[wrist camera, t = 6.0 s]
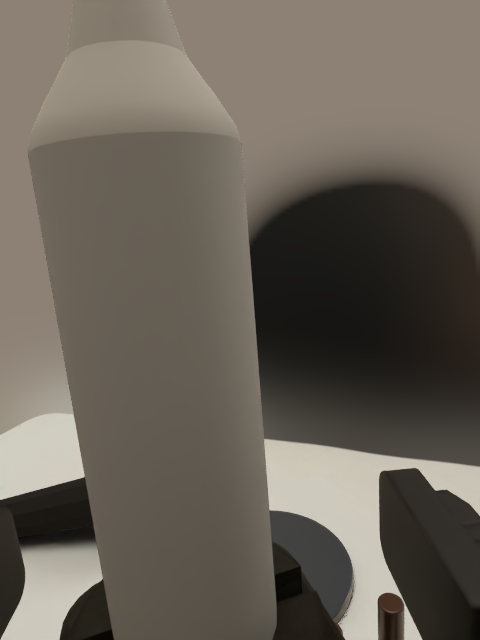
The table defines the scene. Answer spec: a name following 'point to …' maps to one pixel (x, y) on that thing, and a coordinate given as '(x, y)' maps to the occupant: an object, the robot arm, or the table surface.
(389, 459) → the table surface
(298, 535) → the slate coaster
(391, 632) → the drying rack
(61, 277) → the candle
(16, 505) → the microphone
